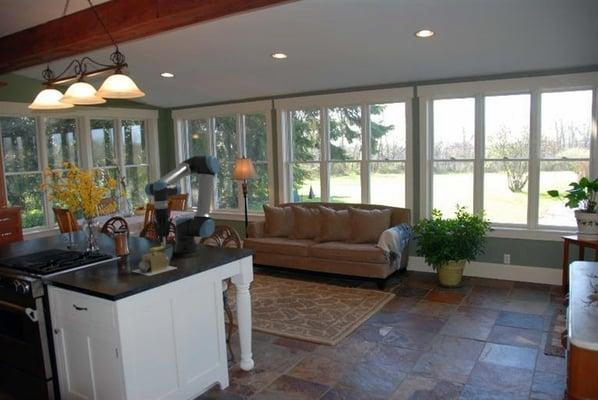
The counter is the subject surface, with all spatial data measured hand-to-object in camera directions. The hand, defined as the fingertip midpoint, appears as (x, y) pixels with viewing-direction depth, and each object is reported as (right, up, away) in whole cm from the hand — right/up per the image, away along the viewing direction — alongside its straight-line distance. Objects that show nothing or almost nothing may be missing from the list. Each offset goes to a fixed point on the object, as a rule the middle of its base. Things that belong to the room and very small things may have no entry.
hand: (163, 247), depth 280 cm
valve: (-3, -12, -7) cm, 14 cm away
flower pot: (-3, -10, +13) cm, 17 cm away
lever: (0, 0, -5) cm, 5 cm away
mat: (-3, -12, -7) cm, 15 cm away
